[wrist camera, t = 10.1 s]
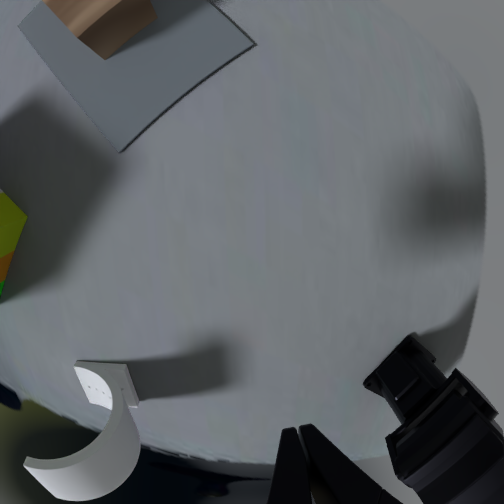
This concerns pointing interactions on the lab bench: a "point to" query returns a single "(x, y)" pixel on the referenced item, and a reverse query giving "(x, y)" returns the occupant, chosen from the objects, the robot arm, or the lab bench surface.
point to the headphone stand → (97, 439)
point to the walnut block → (103, 21)
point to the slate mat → (137, 63)
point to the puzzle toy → (9, 233)
